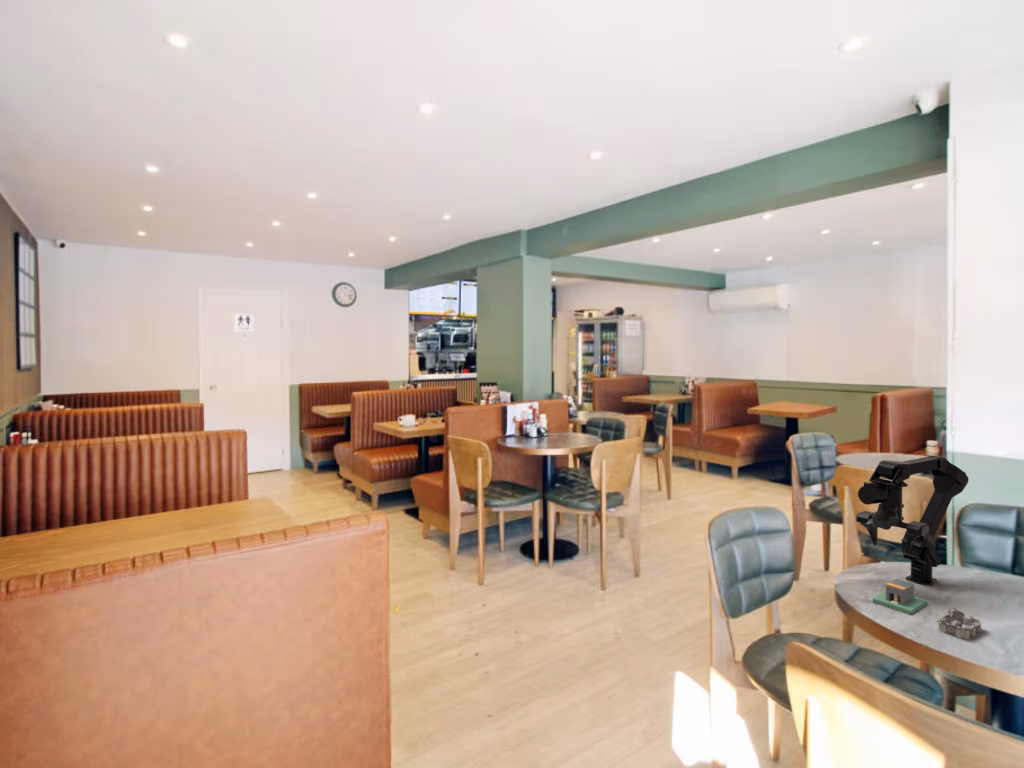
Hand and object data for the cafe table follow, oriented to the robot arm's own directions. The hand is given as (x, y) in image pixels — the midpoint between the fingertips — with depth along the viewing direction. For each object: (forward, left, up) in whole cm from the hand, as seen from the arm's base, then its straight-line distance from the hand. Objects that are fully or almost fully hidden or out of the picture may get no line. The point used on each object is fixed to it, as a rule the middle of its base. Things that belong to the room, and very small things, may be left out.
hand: (890, 549), depth 177 cm
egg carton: (+15, +23, -12) cm, 31 cm away
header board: (+11, +7, -12) cm, 18 cm away
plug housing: (+11, +7, -11) cm, 17 cm away
